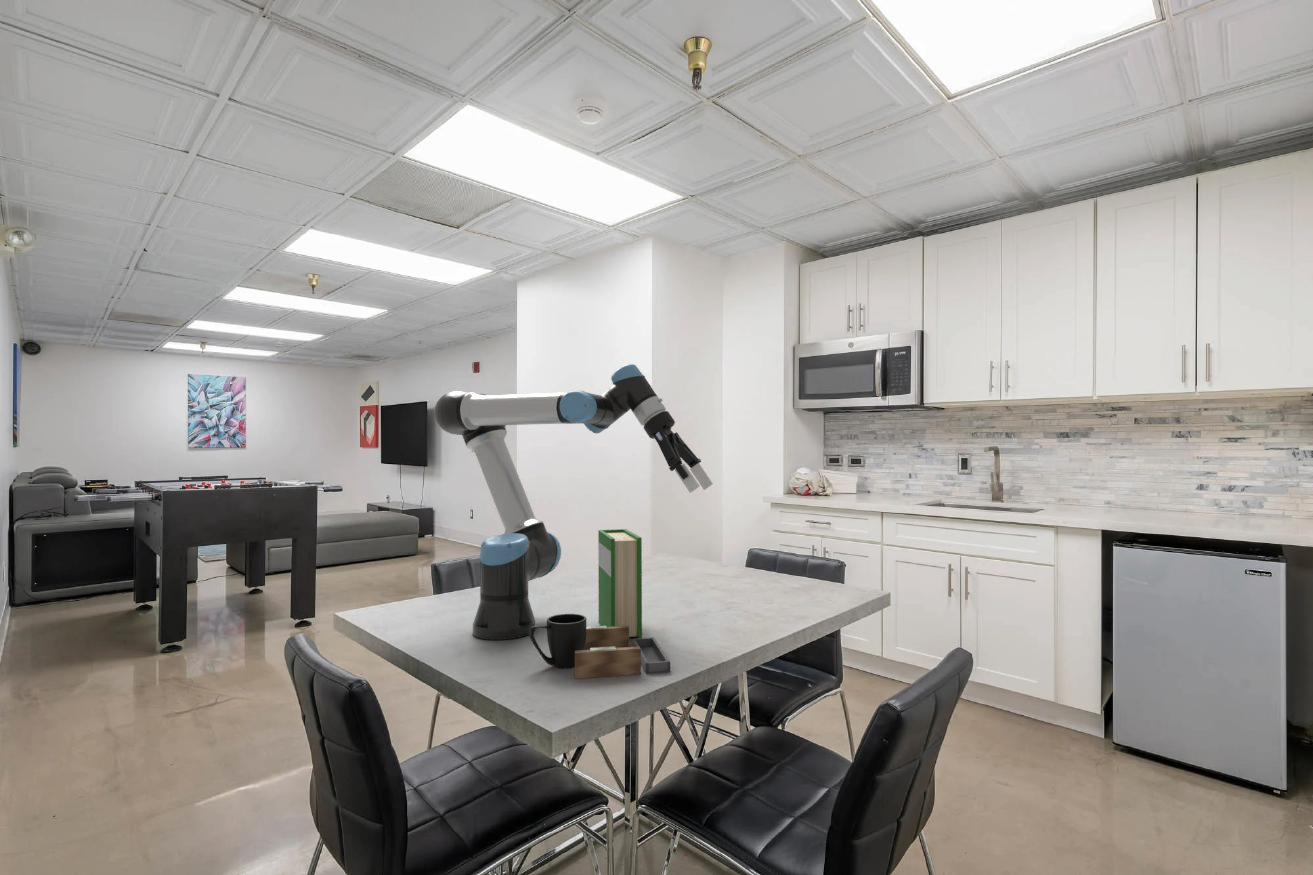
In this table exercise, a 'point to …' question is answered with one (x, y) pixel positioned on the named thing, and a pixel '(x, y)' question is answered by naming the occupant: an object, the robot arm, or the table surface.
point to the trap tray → (652, 655)
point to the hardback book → (620, 580)
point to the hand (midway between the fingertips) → (702, 488)
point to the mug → (562, 639)
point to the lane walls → (607, 653)
